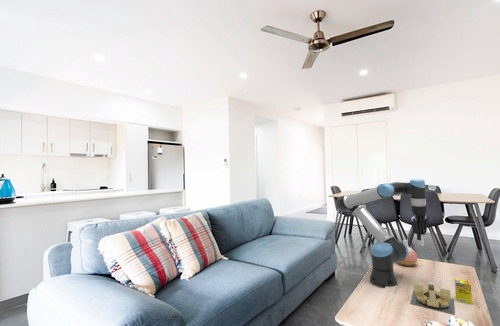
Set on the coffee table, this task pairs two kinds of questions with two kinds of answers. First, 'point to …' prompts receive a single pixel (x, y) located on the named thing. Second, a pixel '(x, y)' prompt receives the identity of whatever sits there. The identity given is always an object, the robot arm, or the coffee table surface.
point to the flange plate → (446, 309)
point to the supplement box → (463, 291)
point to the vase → (409, 256)
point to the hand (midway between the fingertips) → (420, 245)
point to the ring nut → (432, 296)
